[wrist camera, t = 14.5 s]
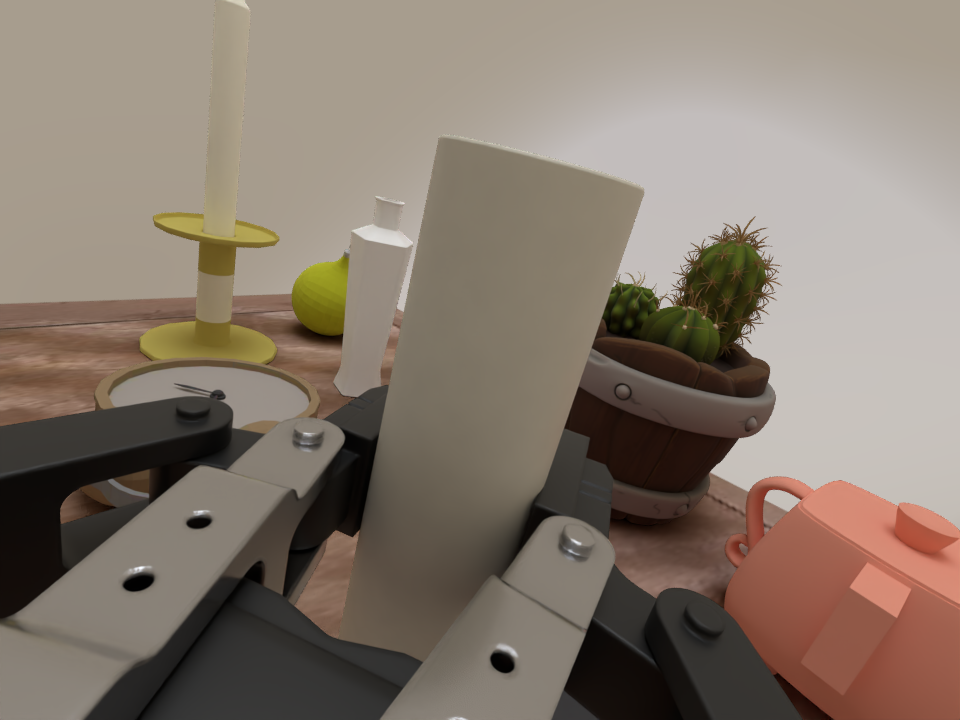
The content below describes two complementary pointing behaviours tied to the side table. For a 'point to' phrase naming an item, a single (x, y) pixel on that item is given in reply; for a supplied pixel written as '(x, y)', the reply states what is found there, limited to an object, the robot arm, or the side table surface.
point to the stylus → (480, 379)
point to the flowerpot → (675, 382)
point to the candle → (218, 214)
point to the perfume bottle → (372, 297)
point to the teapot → (852, 601)
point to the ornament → (322, 296)
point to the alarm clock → (240, 384)
